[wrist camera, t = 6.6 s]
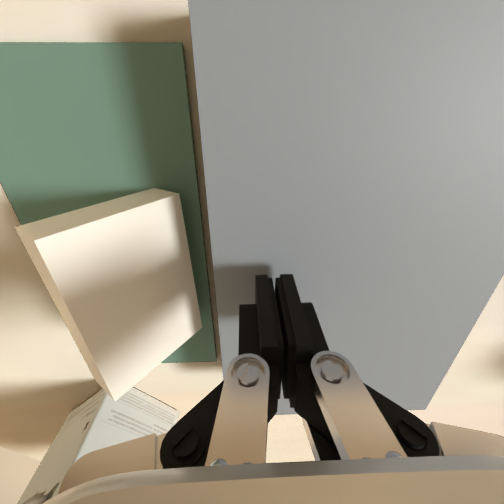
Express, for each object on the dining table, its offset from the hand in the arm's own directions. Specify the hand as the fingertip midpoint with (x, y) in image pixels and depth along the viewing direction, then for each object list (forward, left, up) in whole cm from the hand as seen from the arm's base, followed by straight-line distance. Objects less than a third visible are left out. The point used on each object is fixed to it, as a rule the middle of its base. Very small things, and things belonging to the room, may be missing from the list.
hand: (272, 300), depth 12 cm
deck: (0, +4, -5) cm, 6 cm away
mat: (0, -9, -5) cm, 10 cm away
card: (0, -6, -1) cm, 6 cm away
